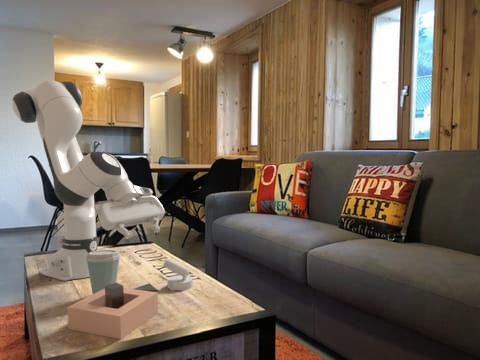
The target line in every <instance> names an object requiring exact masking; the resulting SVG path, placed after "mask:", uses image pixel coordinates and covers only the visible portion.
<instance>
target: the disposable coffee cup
mask: <svg viewBox="0 0 480 360" xmlns="http://www.w3.org/2000/svg"><path fill="white" fill-rule="evenodd" d="M121 258H122V255H121V253H120V251H119V250H116V249H100V250H99V249H97V251H93V252H90V253H88V255H87V256H86V260H87V264H88V270H89V276H90V277H89V281H90V286H91V292H92V293H91V294H92V295H93V294H94V293H96V292H98V291H100V290H102V289H104V288H105V286H107V285H110V284H114V283H117V280H118V273H119V266H120V259H121Z"/></svg>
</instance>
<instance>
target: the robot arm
mask: <svg viewBox="0 0 480 360" xmlns="http://www.w3.org/2000/svg"><path fill="white" fill-rule="evenodd" d="M82 98H83V96H82V93H81V91H80V89H79V88H78V86H77V85H76V83H74V82H72V81H70V80H69V81H61V82H59V81H57V80H54V79H53V80H51V79H48V80H44V81H42V82H40V83H39V84H38V85H36V87H34V88H31V89H28V90H26V91H24V90H23V91H20V92H18V93H15V94H14V95H13V97H12V109H13V112H14V113H15V115H16V117H17V118H18V119H20V121H21V122H23V123H25V124H28V123H29V124H32V123H37V129H38V132H39V134H40V137H41V141H42V143H43V148H44V152H45V157H46V159H47V162H48V165H49V169H50V172H51V177H52V179H53V190H54V194H55V196H56V197H57V199H58V200H59V201H60V202H61V204H63V217H64V218H63V220H64V221H63V222H64V238H62V239H60V240H59V243H60V244H61V243H62V244H61V248H59V249H58V250H57V251H56V252H55V253H54V254H52V255H51V256H50V257H49V259H48V265H47V266H48V267H47V268H46V269H44V270H42V271H41V275H43V276H46V277H49V278H52V279H53V278H54V279H57V280H61V281H70V280H71V281H72V280H76V279H85V278H90V276H89V270H88V264H87V260H86V256H87V255H88V253H90V252H93V251H97V250H98V244H99V242H98V241H99V240H98V239H99V238H98V235H97V226H96V213H97V216H98V219H99V222H100V226H101V227H102V229H104V230H105V231H110V230H111V231H112V230H116V231H117V232H119V233H120V234H121V235H123V236H124V237H125V240H129V239H133V236H134V234H133V232H132V230H129V229H127V228H126V227H132V226H137V225H142V224H147V223H151V225H153V227H152V228H151V230H152V232H153V233H154V234H156V233H160V231H161V227H160V226H159V221H161V220H162V219H163V217H164V216H165V215H166V214H165V213H166V211H165V210H166V209H165V208H164V207H163V204H162V203H161V202H160V200H159V199H158V198H157V197H156V196H155V195H153V193H154V192H153V190H152V189H151V188H148V187H142V186H138V185H135V184H133V182H131V180H130V179H129V176H128V174H127V172H126V170H125V168H124V167H123V165H122V164H121V163H120V161H119V160H118V159H117V158H116V157H115V156H114V155H112V154H110V153H107V152H104V151H103V152H102V151H91V152H90V153H88V154H87V155H86V156H84V154H83V152H82V150H81V148H80V144H79V142H78V139H77V137H76V136H77V134H78V133H79V132H80V130H81V127H83V119H84V118H83V114H82V110H81V109H80V108H81V106H82V104H83V99H82ZM100 189H102V191H104V193H105V198H106V199H107V200H103V201H101V200H99V201H97V202H95V196H94V195H95V193H97V192H98V191H99V190H100Z"/></svg>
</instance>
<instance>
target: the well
mask: <svg viewBox="0 0 480 360" xmlns="http://www.w3.org/2000/svg"><path fill="white" fill-rule="evenodd" d="M123 290H124V306H122V307H120V308H119V309H114V308H108V307H106V303H105V288H104V289H102V290H100V291H98V292H96V293H94V294H93V293H92V294H91V295H89V296H87V297H85V298H83V299H81V300H79V301H77V302H75V303H73V304H71V305H69V306H67V307H66V308H67V310H66V311H67V326H68V327H67V328H68V330H72V331H76V332H77V331H78V332H83V333H87V334H92V335H97V336H102V337H108V338H113V339H116V340H122V339H123V338H125V337H127V336H128V335H130V334H131V333H132V332H133V331H135V330H136V329H138V328H139V327H141V326H142V325H143V324H144V323H146V322H147V321H149V320H150V319H151V318H152V317H154V316H156V315H157V314H158V313H159V300H158V292H155V291H148V290H142V289H135V288H134V289H133V288H129V287H128V288H126V287H123Z"/></svg>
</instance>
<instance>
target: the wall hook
mask: <svg viewBox="0 0 480 360" xmlns="http://www.w3.org/2000/svg"><path fill="white" fill-rule="evenodd" d="M163 267H164V268H166V269H167V270H169V271H172V272H174V273H175V274H177V275H173V276H169V277H168V278H167V281H166V282H167V289H168V288H169V289H168V290H170V289H171V290H170V291H174V290H182V291H186V290H187V291H188V290H190V289H192V287H193V285H194V283H193V277H192V276H191V275H190V270H189V268H187V267H185V266H183V265H182V264H179V263H178V262H175V261H174V260H172V259H170V258H167V259H166V260H165V262H164V263H163Z"/></svg>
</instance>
